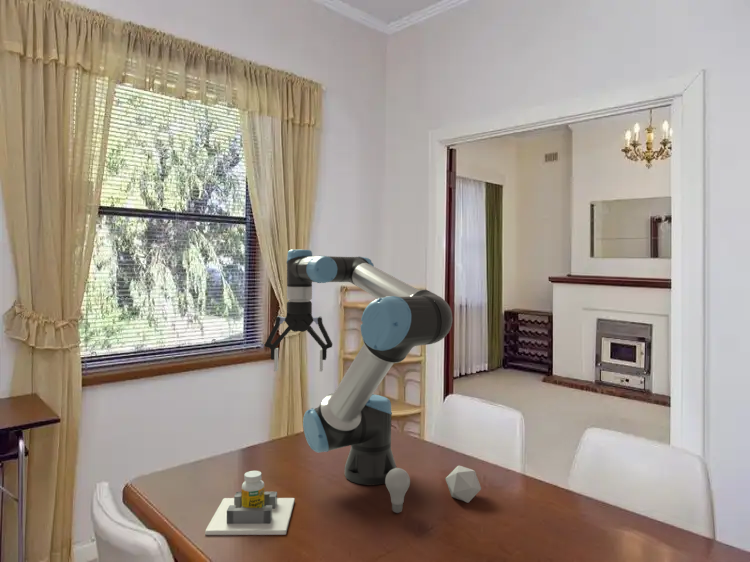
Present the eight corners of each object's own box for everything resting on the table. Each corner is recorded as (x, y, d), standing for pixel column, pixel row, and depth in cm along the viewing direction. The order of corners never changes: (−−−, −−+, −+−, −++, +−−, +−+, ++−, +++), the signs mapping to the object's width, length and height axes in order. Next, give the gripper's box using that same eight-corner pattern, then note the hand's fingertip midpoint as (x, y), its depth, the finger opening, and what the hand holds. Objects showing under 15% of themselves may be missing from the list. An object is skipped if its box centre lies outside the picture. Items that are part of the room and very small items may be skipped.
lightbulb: (392, 521, 123) (393, 475, 122) (380, 510, 128) (381, 466, 128) (414, 515, 125) (414, 471, 125) (401, 505, 131) (402, 462, 130)
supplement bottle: (258, 505, 127) (258, 467, 127) (268, 514, 123) (268, 474, 123) (237, 512, 124) (237, 472, 124) (247, 520, 120) (247, 480, 119)
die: (486, 501, 135) (476, 464, 140) (480, 496, 128) (469, 458, 134) (456, 508, 137) (447, 471, 142) (449, 504, 130) (439, 466, 135)
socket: (294, 501, 132) (294, 486, 132) (285, 534, 116) (285, 517, 116) (223, 501, 131) (223, 486, 131) (205, 534, 115) (205, 517, 115)
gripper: (341, 300, 159) (340, 368, 160) (260, 299, 158) (259, 367, 159) (340, 302, 152) (339, 373, 152) (255, 301, 151) (254, 372, 152)
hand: (298, 370), depth 156 cm, fingers open, 13 cm apart
